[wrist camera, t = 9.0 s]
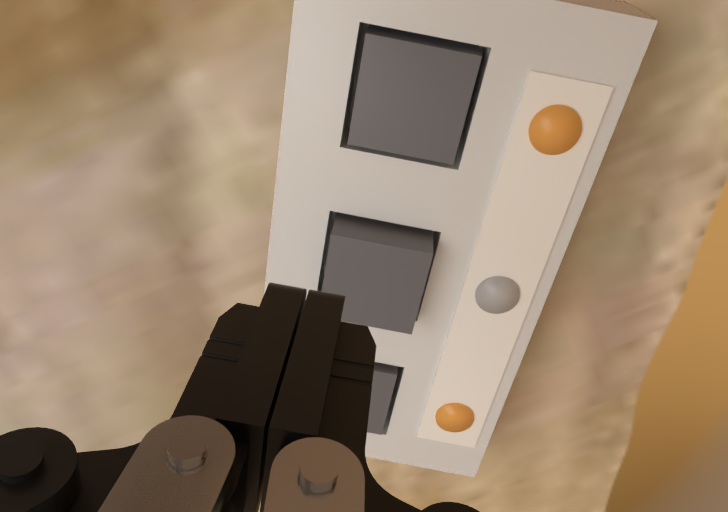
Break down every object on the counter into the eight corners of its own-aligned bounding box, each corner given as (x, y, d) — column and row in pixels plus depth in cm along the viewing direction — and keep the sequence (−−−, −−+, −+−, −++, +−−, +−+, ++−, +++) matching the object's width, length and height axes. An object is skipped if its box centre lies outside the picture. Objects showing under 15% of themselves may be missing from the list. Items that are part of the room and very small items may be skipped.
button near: (371, 19, 25) (365, 33, 23) (476, 40, 25) (481, 56, 23) (354, 121, 27) (347, 144, 25) (451, 140, 27) (452, 165, 25)
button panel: (316, -59, 25) (297, -50, 21) (626, 2, 25) (661, 22, 22) (265, 385, 38) (247, 439, 34) (470, 424, 38) (475, 482, 35)
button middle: (338, 204, 28) (330, 234, 26) (432, 223, 28) (433, 254, 26) (325, 282, 31) (317, 316, 28) (413, 299, 31) (411, 334, 28)
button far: (320, 325, 33) (311, 358, 31) (399, 340, 33) (397, 375, 31) (310, 384, 36) (301, 419, 33) (384, 398, 36) (381, 434, 33)
